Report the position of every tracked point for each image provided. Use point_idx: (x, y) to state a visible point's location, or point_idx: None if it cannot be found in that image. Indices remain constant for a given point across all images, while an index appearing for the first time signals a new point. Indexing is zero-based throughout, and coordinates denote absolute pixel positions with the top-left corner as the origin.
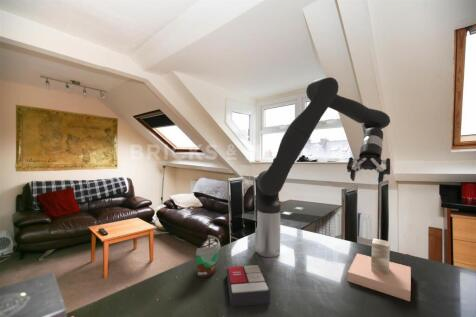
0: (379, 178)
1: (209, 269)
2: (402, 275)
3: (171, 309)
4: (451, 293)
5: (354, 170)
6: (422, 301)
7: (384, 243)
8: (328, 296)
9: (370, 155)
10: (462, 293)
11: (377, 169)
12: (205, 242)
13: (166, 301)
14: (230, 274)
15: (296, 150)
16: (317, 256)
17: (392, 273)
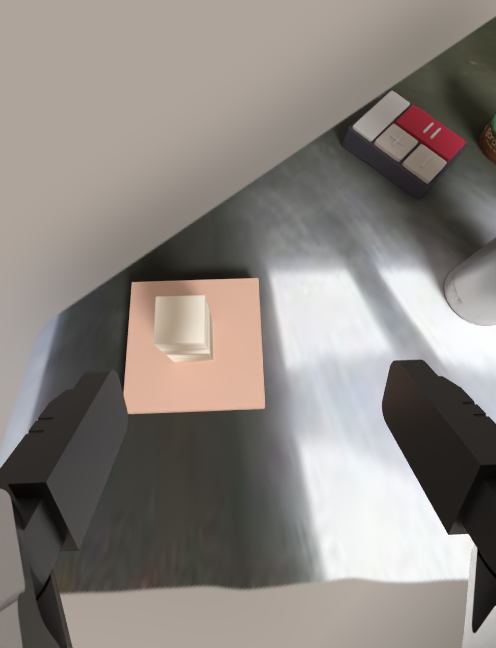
0: (92, 375)
1: (488, 126)
2: (144, 344)
3: (437, 62)
4: (55, 382)
5: (486, 457)
6: (117, 307)
7: (168, 313)
8: (271, 214)
9: None
10: (31, 399)
11: (49, 643)
12: None
13: (459, 66)
14: (438, 122)
15: None
16: (363, 362)
17: None
